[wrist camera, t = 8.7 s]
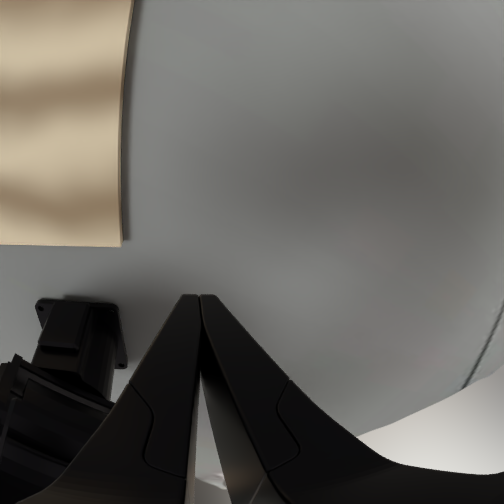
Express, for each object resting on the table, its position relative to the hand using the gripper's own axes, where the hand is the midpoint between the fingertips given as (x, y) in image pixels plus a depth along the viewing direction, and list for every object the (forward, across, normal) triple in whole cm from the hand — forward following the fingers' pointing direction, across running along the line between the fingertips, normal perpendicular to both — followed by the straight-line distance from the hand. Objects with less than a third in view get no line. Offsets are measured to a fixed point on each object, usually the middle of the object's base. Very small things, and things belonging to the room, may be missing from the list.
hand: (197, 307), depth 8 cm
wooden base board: (+11, +17, -6) cm, 21 cm away
